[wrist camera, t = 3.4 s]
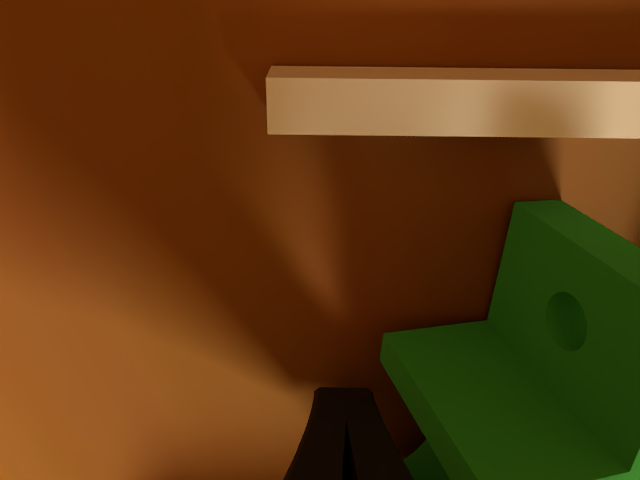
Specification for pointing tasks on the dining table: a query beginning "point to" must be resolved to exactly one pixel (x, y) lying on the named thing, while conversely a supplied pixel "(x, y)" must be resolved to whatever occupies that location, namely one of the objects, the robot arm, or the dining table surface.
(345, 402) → the robot arm
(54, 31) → the dining table surface
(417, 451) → the pipe clamp
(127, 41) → the dining table surface
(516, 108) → the housing
